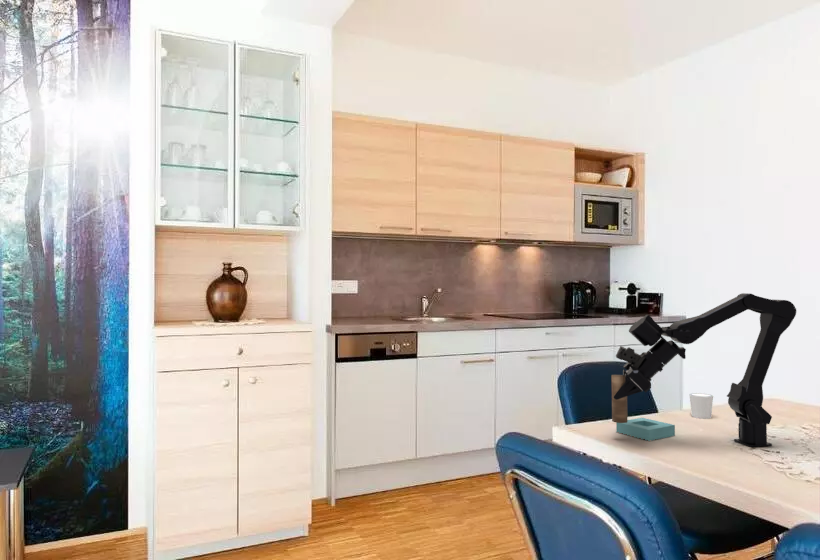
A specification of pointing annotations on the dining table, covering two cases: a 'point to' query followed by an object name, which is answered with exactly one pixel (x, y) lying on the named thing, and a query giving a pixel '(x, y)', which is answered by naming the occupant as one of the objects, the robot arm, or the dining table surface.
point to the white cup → (701, 405)
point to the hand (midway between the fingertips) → (614, 397)
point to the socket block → (646, 429)
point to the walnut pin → (621, 404)
